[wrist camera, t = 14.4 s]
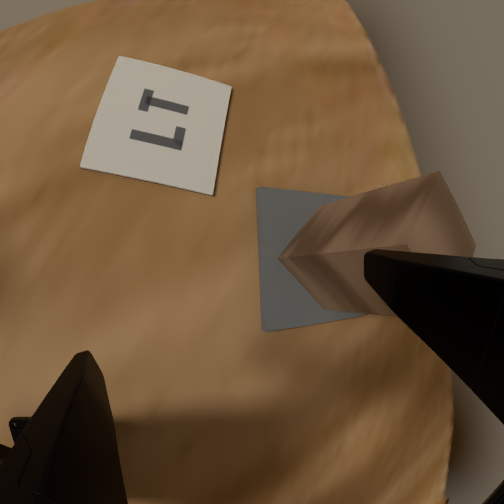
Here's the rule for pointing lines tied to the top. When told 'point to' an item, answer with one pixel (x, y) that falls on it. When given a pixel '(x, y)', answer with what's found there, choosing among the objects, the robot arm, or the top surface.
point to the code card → (159, 126)
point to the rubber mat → (274, 272)
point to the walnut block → (373, 239)
